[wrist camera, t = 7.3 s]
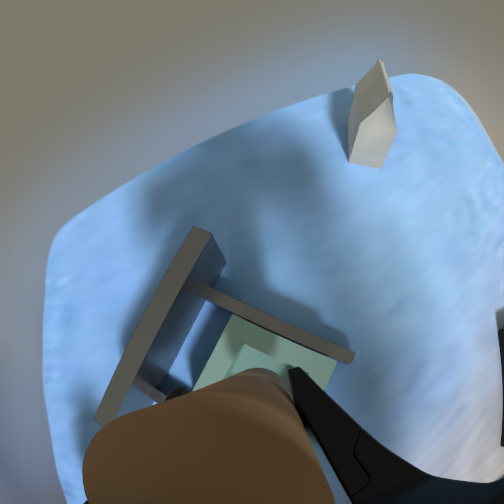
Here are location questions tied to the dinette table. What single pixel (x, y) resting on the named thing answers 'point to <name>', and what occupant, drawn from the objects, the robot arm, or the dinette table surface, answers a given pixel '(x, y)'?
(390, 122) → the gable top carton
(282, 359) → the sliding socket block
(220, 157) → the dinette table surface
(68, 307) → the dinette table surface
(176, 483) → the walnut dowel
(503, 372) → the multiport hub
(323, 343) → the rail and backstop frame
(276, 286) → the dinette table surface
